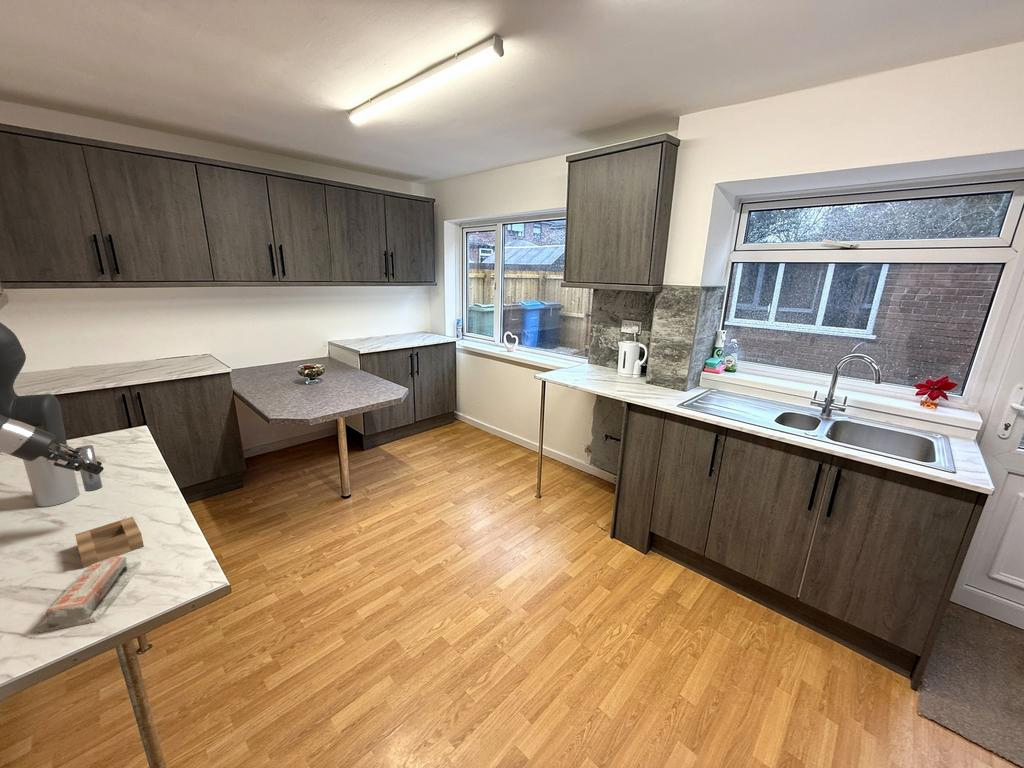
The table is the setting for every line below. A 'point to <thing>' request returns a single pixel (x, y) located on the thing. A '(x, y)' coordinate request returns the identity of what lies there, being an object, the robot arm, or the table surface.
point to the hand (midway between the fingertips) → (99, 468)
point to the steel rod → (89, 479)
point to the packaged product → (90, 594)
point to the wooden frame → (108, 541)
